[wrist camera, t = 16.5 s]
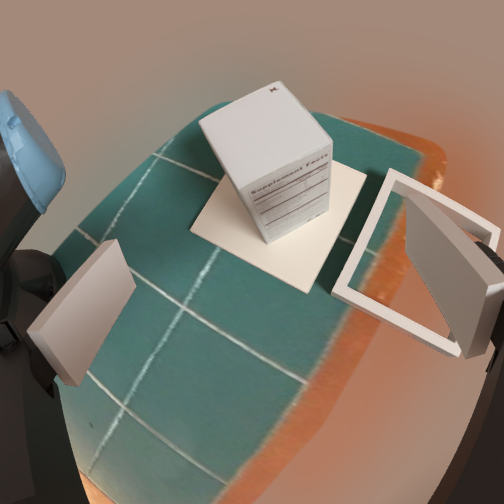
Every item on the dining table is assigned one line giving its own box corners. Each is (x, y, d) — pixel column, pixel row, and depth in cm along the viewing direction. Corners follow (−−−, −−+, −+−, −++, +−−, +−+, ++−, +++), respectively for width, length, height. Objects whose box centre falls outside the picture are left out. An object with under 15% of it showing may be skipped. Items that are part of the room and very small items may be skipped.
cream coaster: (192, 232, 34) (189, 230, 34) (255, 134, 36) (254, 130, 36) (307, 294, 30) (307, 293, 30) (365, 178, 32) (366, 175, 31)
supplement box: (235, 191, 34) (194, 118, 22) (295, 159, 34) (281, 76, 22) (266, 248, 31) (235, 191, 20) (331, 213, 31) (336, 139, 19)
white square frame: (330, 294, 30) (331, 291, 27) (385, 179, 32) (389, 167, 29) (448, 356, 26) (458, 357, 23) (490, 236, 28) (500, 229, 25)
